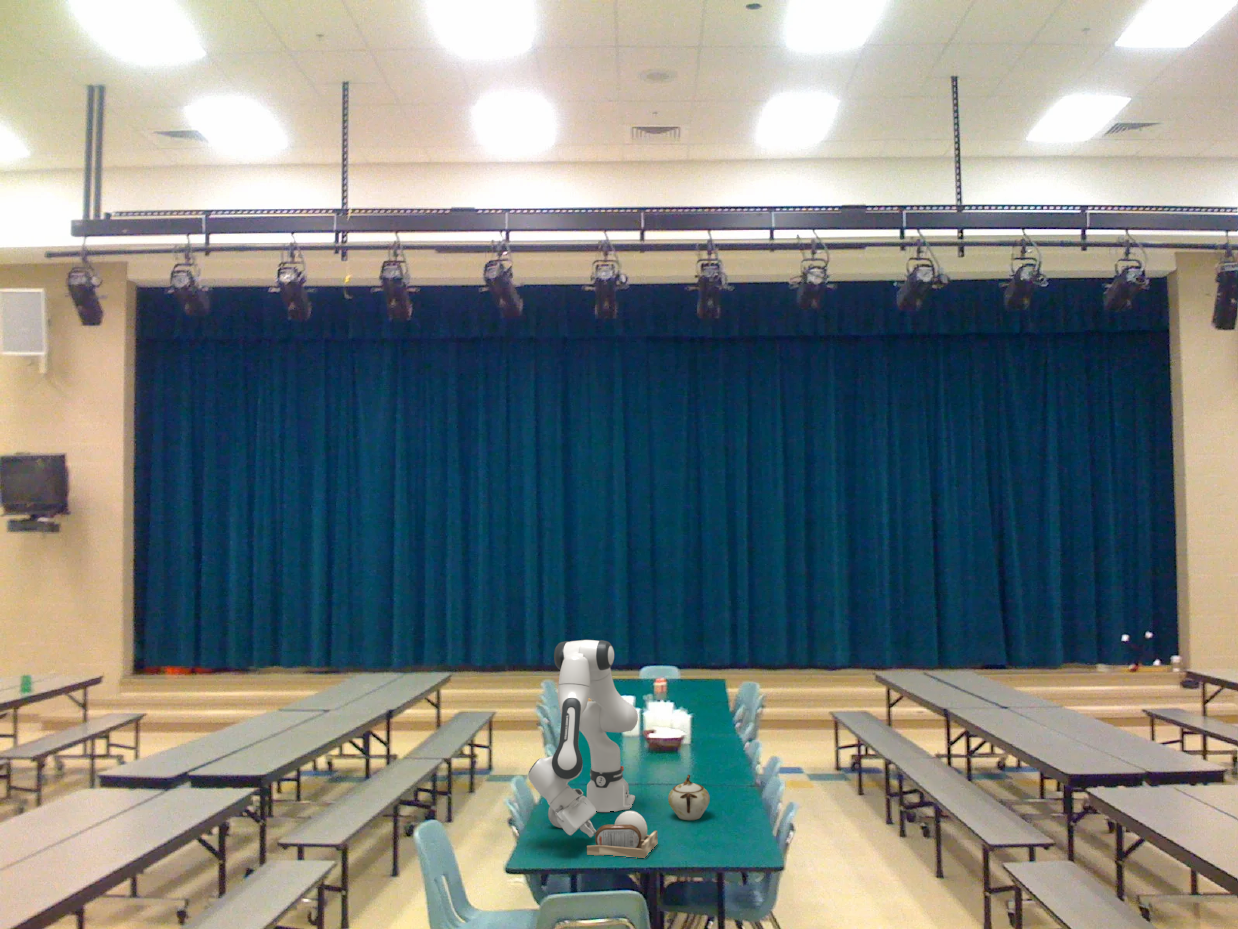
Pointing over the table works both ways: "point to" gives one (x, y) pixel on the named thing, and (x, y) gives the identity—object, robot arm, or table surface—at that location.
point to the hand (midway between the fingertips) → (593, 834)
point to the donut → (553, 818)
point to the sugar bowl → (688, 800)
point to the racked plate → (633, 821)
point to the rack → (626, 848)
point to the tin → (618, 836)
